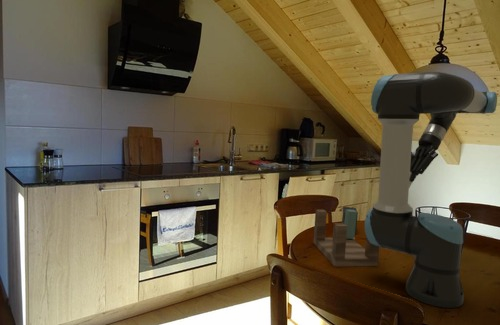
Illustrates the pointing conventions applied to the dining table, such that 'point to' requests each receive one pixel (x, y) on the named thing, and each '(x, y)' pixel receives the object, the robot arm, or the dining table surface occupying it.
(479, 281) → the dining table surface
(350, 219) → the green rectangular block
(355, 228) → the small box
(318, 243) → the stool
